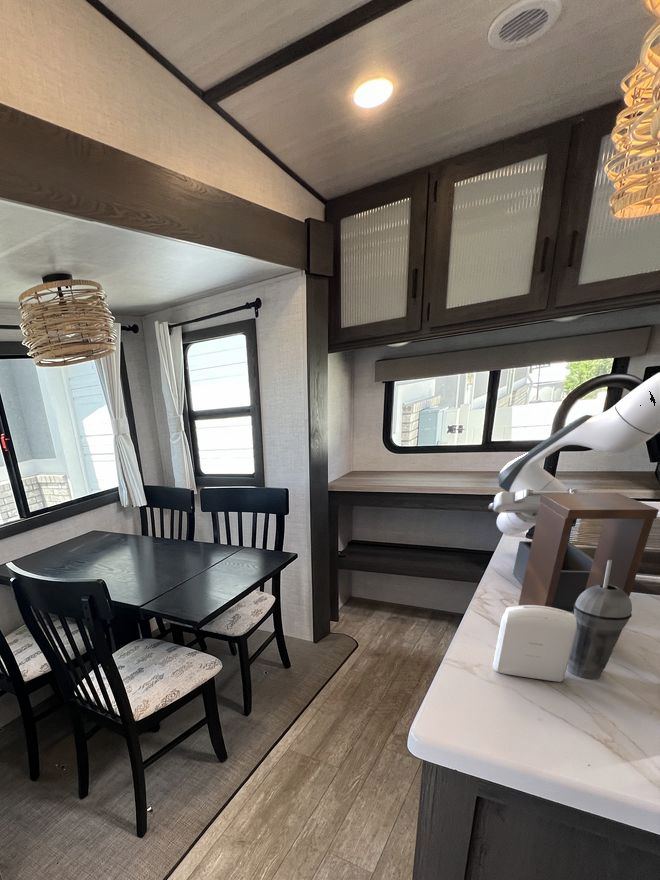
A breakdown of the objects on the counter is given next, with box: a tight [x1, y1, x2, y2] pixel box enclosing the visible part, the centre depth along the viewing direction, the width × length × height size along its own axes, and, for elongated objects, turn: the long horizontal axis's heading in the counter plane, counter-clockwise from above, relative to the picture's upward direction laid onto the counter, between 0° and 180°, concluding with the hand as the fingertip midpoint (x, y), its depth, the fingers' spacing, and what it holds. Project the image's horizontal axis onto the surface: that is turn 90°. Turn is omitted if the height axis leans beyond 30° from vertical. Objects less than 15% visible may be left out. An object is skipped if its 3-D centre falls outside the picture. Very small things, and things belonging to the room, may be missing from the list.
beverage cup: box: [566, 560, 633, 680], centre depth 75 cm, size 7×7×20 cm
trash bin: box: [512, 540, 594, 612], centre depth 106 cm, size 11×22×9 cm, turn 164°
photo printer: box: [492, 605, 577, 683], centre depth 77 cm, size 10×4×12 cm, turn 63°
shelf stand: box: [517, 492, 660, 607], centre depth 85 cm, size 12×13×26 cm
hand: (552, 491), depth 111 cm, fingers open, 8 cm apart
